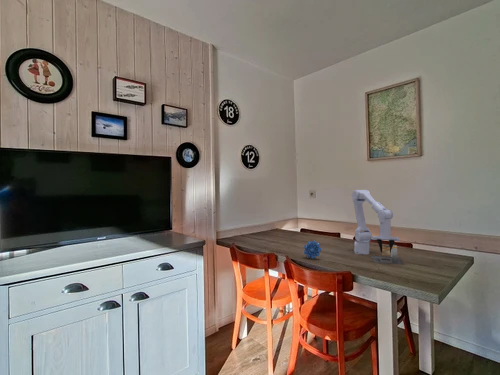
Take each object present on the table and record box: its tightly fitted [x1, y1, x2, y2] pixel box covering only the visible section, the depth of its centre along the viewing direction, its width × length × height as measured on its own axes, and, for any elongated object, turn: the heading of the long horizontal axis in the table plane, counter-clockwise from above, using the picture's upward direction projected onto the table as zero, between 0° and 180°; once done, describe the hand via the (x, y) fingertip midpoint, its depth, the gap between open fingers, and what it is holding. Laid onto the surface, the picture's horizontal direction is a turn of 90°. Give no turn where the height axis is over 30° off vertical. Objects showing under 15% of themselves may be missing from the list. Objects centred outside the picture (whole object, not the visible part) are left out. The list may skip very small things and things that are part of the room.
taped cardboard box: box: [380, 244, 391, 257], centre depth 159 cm, size 4×4×5 cm
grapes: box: [303, 240, 322, 260], centre depth 171 cm, size 12×7×12 cm, turn 63°
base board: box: [370, 255, 405, 265], centre depth 162 cm, size 16×16×2 cm
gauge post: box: [390, 244, 398, 260], centre depth 165 cm, size 3×3×8 cm
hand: (385, 252), depth 159 cm, fingers closed on taped cardboard box, 4 cm apart
